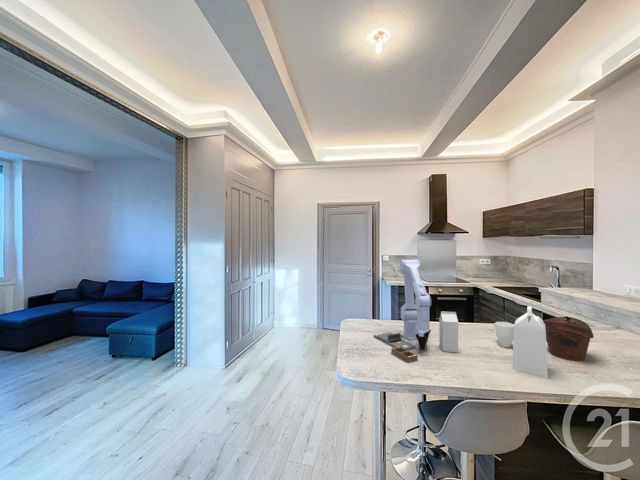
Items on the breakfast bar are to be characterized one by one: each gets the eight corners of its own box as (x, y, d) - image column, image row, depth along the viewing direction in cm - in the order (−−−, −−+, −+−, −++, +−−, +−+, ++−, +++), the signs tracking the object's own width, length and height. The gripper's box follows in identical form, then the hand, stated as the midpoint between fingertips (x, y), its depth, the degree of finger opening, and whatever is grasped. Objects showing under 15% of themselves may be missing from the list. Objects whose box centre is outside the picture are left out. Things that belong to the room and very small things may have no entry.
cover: (390, 333, 154) (390, 328, 154) (401, 338, 146) (401, 333, 146) (376, 336, 150) (376, 330, 150) (387, 341, 141) (387, 336, 141)
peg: (423, 348, 136) (423, 336, 136) (428, 350, 133) (428, 338, 133) (418, 349, 135) (418, 337, 135) (423, 351, 132) (423, 339, 132)
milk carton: (458, 352, 131) (458, 314, 131) (442, 351, 132) (442, 313, 132) (454, 347, 138) (454, 310, 138) (439, 346, 139) (439, 309, 139)
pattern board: (387, 334, 157) (387, 332, 157) (415, 348, 136) (415, 345, 136) (373, 337, 152) (373, 335, 152) (401, 351, 132) (401, 349, 132)
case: (575, 348, 136) (574, 312, 136) (605, 366, 116) (604, 325, 116) (534, 345, 140) (533, 311, 140) (556, 362, 121) (555, 322, 121)
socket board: (400, 351, 133) (400, 346, 133) (417, 360, 123) (417, 355, 123) (391, 353, 130) (391, 348, 130) (407, 363, 120) (407, 357, 120)
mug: (519, 348, 135) (518, 326, 135) (503, 349, 135) (503, 326, 135) (501, 340, 147) (501, 319, 147) (487, 340, 147) (487, 319, 147)
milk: (514, 359, 123) (513, 303, 123) (547, 367, 116) (546, 307, 116) (512, 369, 114) (511, 308, 114) (547, 378, 107) (547, 313, 107)
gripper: (417, 314, 143) (417, 340, 142) (412, 322, 130) (412, 350, 130) (431, 316, 139) (431, 342, 139) (427, 324, 126) (427, 353, 126)
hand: (423, 346), depth 134 cm, fingers open, 7 cm apart
